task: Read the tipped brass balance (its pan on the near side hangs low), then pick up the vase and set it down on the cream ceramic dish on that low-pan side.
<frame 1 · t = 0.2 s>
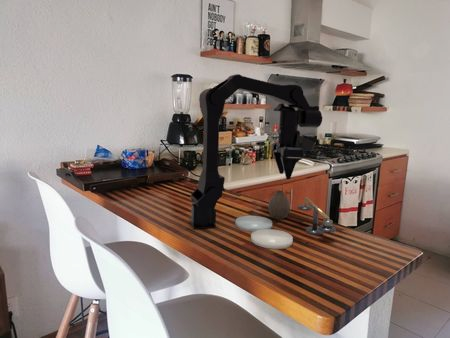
hand: (284, 176, 107), 14 cm above the countertop, fingers open, 9 cm apart
dish low: (271, 240, 90), on the countertop
dish high: (253, 225, 102), on the countertop
balance: (314, 232, 98), on the countertop
vase: (278, 218, 110), on the countertop
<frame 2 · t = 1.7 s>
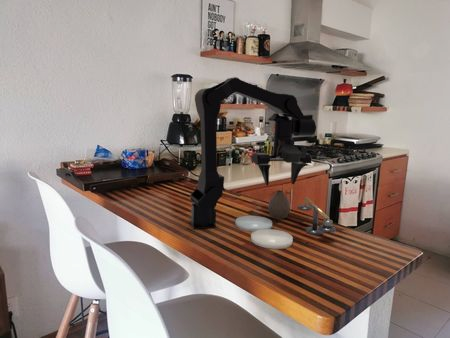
hand: (280, 184, 109), 11 cm above the countertop, fingers open, 9 cm apart
nothing on the countertop moved.
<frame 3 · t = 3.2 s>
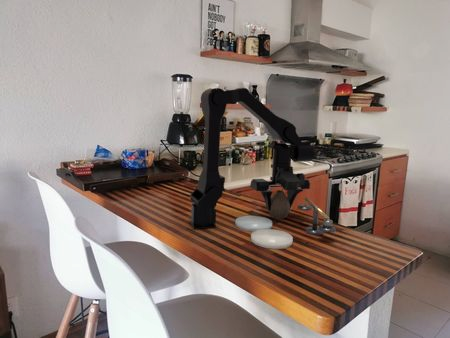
hand: (278, 209, 110), 3 cm above the countertop, fingers closed on vase, 7 cm apart
vase: (278, 217, 110), on the countertop, touching gripper
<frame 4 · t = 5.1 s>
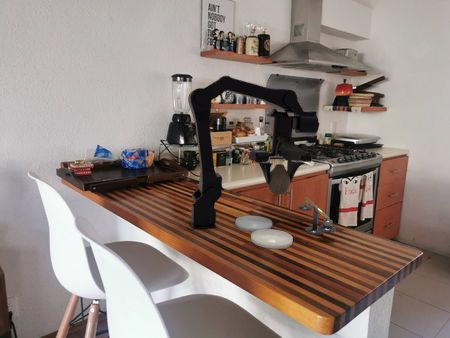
hand: (278, 184, 103), 12 cm above the countertop, fingers closed on vase, 7 cm apart
vase: (277, 193, 104), point 9 cm above the countertop, touching gripper
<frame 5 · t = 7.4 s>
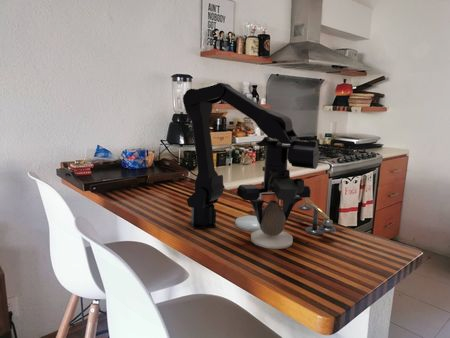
hand: (272, 222, 89), 5 cm above the countertop, fingers closed on vase, 7 cm apart
vase: (271, 233, 90), point 2 cm above the countertop, touching gripper
when the fingers open (5 cm above the countertop, at t = 8.2 s): vase stays where it is, resting on dish low.
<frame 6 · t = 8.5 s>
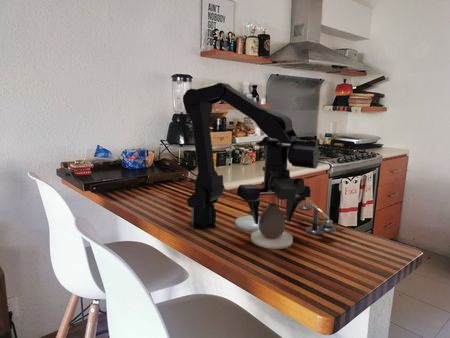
hand: (272, 222, 89), 5 cm above the countertop, fingers open, 9 cm apart
vase: (271, 236, 90), point 1 cm above the countertop, touching dish low
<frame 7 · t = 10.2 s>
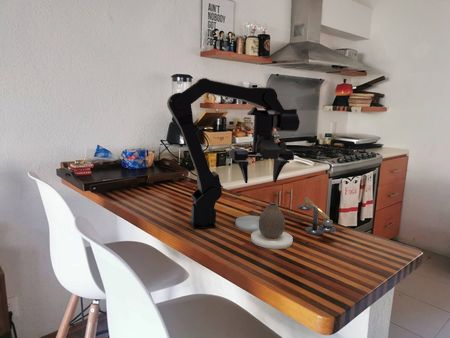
hand: (260, 182, 103), 12 cm above the countertop, fingers open, 9 cm apart
nothing on the countertop moved.
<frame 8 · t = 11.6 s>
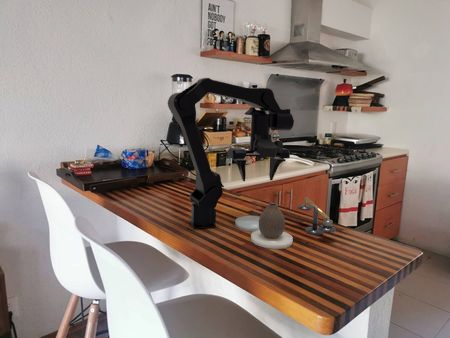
hand: (257, 180, 106), 12 cm above the countertop, fingers open, 9 cm apart
nothing on the countertop moved.
at the end: vase 0.2 cm from the dish low (horizontally); vase tilted 0°; vase point 1.0 cm above the countertop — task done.
